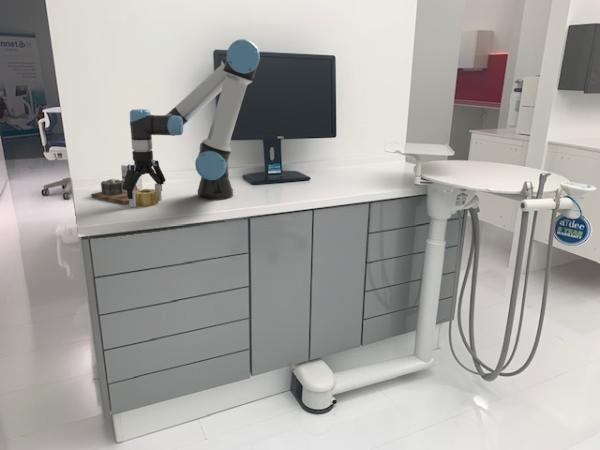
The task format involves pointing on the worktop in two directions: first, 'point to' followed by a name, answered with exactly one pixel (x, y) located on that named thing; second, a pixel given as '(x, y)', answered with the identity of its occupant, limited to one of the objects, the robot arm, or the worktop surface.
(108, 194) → the gear board
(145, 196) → the brass gear
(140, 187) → the ink box
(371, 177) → the worktop surface
